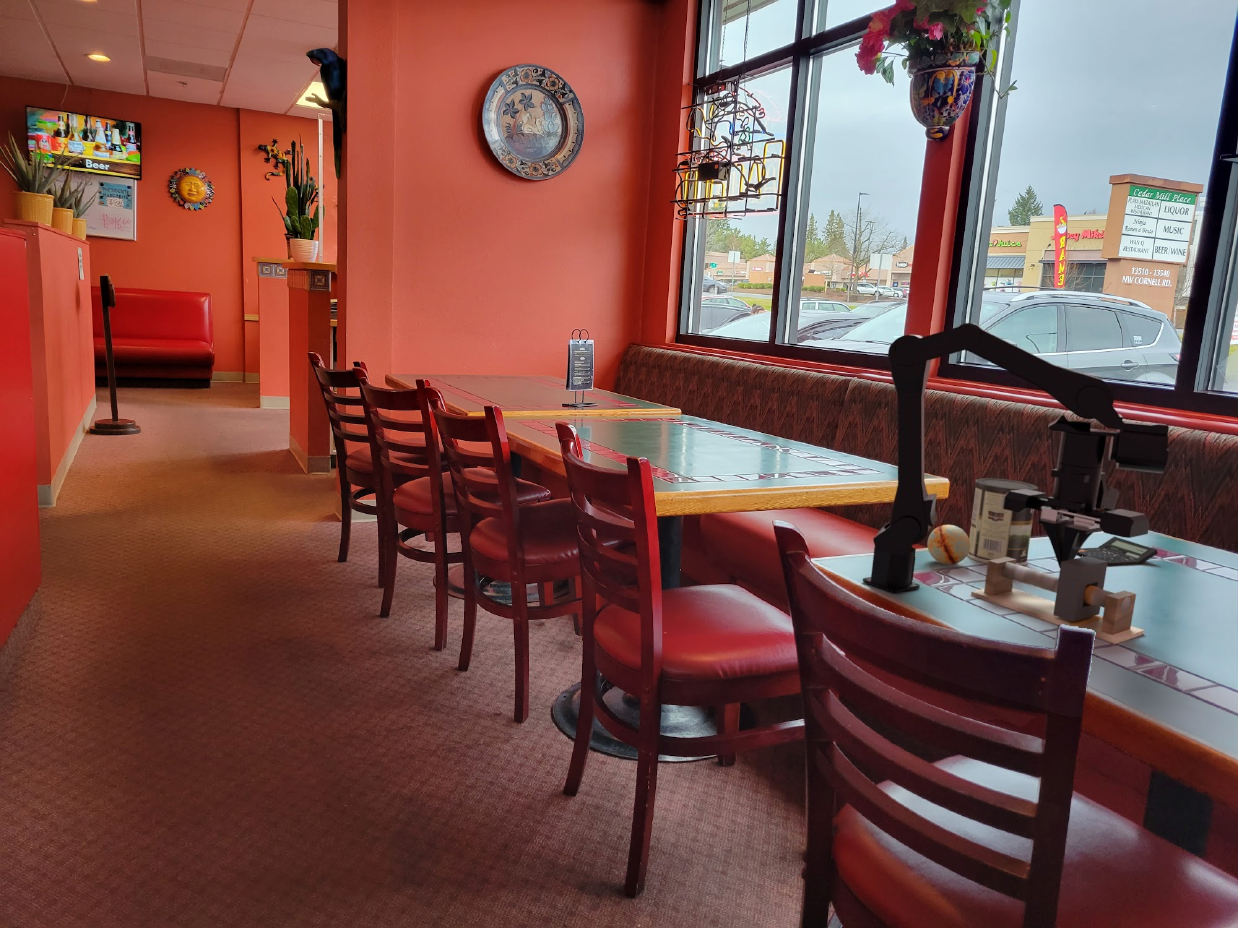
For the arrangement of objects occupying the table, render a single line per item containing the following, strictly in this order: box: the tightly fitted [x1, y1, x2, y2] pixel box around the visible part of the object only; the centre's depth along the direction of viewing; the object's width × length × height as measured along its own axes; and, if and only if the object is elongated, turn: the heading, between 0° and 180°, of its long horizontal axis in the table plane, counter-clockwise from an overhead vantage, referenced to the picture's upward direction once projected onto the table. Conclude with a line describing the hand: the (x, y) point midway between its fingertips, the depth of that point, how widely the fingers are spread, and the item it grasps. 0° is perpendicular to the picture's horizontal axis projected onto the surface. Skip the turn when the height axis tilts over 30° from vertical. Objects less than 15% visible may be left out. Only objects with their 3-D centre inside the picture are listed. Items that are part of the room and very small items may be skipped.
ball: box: [926, 524, 970, 566], centre depth 151 cm, size 7×7×7 cm
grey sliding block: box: [1053, 556, 1108, 622], centre depth 124 cm, size 3×7×8 cm, turn 124°
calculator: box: [1076, 535, 1159, 567], centre depth 162 cm, size 9×12×3 cm
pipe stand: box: [970, 557, 1145, 645], centre depth 127 cm, size 22×8×6 cm, turn 34°
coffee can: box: [966, 477, 1039, 567], centre depth 156 cm, size 10×10×14 cm
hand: (1064, 568), depth 126 cm, fingers closed
